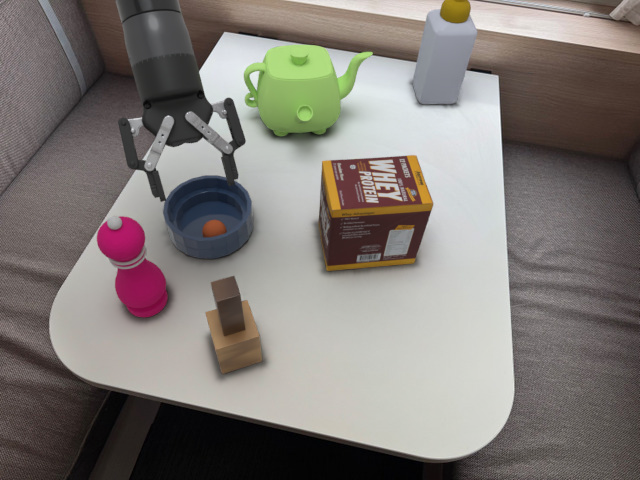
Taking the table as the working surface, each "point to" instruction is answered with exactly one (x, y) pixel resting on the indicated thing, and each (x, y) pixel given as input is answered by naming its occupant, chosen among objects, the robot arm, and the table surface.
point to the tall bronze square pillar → (228, 305)
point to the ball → (213, 228)
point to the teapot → (299, 88)
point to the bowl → (208, 216)
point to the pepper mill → (132, 266)
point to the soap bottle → (444, 53)
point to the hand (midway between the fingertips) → (198, 192)
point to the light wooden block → (235, 342)
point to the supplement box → (372, 211)
